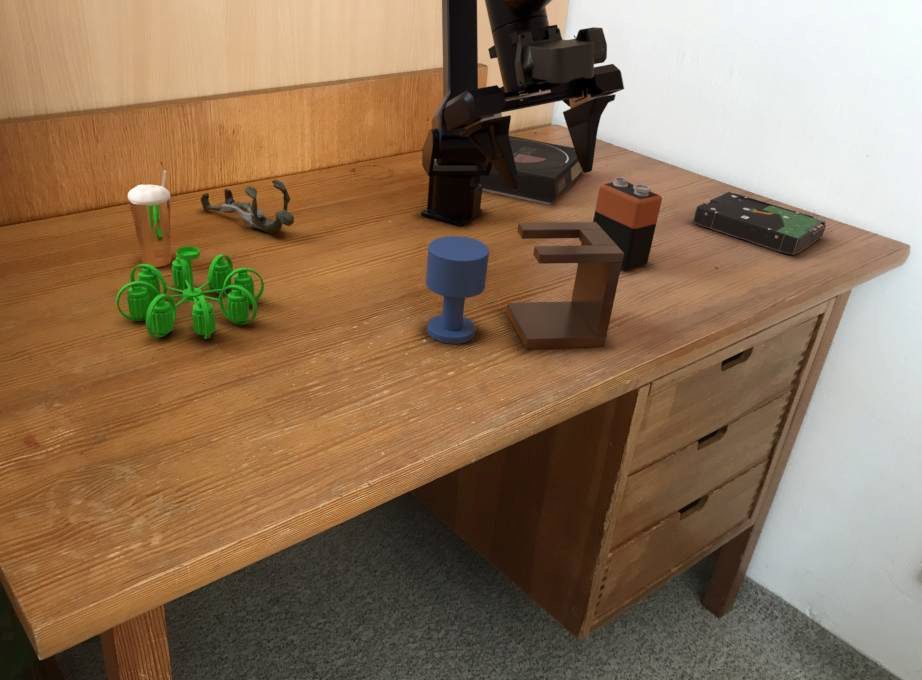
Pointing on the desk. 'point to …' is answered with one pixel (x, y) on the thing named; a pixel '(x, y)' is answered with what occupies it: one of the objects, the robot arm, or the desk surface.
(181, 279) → the chandelier
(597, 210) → the battery
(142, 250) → the milkshake
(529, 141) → the portable cd player
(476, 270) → the peg
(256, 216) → the zombie figurine
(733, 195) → the disk drive
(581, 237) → the brown slotted stand
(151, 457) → the desk surface
